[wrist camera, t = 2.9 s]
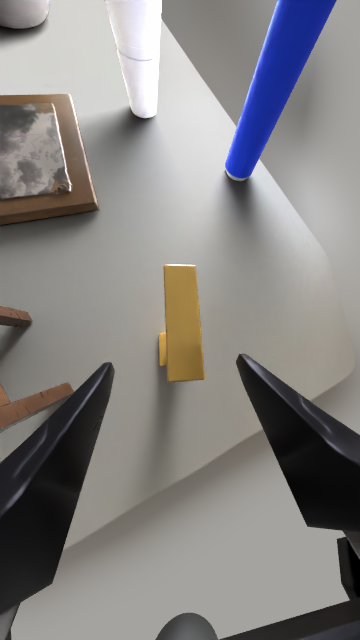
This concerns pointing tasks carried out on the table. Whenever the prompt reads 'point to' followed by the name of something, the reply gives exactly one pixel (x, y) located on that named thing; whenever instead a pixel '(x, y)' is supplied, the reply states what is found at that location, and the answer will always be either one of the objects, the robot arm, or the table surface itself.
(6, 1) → the vase
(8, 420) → the brown legged wooden frame
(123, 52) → the stacked toilet paper rolls
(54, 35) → the table surface
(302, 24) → the beverage can
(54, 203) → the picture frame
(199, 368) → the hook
